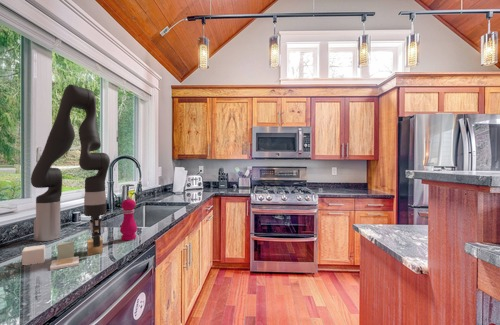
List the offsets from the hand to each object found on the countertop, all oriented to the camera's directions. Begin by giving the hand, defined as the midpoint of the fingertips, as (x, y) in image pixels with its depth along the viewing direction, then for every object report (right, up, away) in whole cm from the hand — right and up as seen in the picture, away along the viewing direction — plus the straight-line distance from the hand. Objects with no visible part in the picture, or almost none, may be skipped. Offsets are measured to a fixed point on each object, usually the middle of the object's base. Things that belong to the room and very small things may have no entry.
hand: (95, 244), depth 108 cm
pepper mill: (+5, -4, +19) cm, 20 cm away
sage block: (-8, -3, -5) cm, 10 cm away
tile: (-4, -3, -13) cm, 14 cm away
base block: (-16, -3, -10) cm, 20 cm away
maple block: (0, -3, 0) cm, 3 cm away
